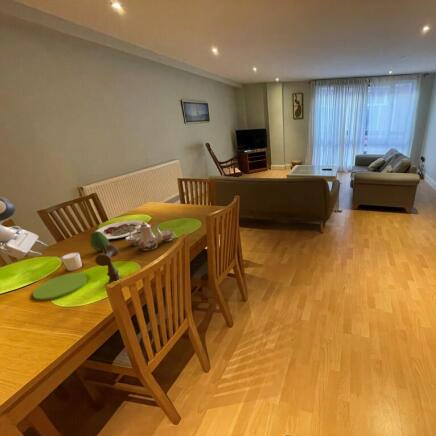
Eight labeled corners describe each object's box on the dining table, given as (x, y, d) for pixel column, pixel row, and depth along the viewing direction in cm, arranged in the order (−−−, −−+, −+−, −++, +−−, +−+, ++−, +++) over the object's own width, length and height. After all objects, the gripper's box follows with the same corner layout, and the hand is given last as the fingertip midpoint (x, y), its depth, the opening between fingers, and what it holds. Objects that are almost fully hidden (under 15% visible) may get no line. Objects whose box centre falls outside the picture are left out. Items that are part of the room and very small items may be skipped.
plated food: (147, 234, 157) (146, 229, 155) (90, 245, 143) (88, 240, 142) (147, 219, 181) (146, 215, 180) (98, 228, 167) (96, 223, 166)
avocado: (97, 248, 140) (90, 229, 135) (112, 246, 142) (107, 228, 137) (91, 255, 133) (84, 235, 128) (108, 252, 135) (101, 233, 130)
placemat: (35, 306, 96) (34, 304, 95) (31, 287, 107) (30, 286, 106) (91, 284, 108) (90, 283, 108) (82, 270, 119) (81, 268, 119)
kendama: (126, 274, 116) (114, 237, 108) (119, 286, 107) (106, 246, 100) (112, 276, 114) (99, 238, 107) (103, 288, 106) (89, 249, 98)
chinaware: (177, 237, 156) (172, 213, 151) (176, 246, 141) (170, 219, 136) (127, 245, 146) (120, 219, 141) (120, 256, 131) (112, 227, 126)
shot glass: (86, 265, 123) (81, 253, 120) (70, 272, 117) (65, 260, 115) (79, 262, 126) (74, 251, 123) (63, 269, 120) (57, 257, 117)
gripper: (0, 241, 97) (42, 255, 106) (17, 224, 113) (53, 237, 122) (-11, 253, 97) (32, 266, 106) (8, 235, 113) (44, 247, 121)
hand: (43, 251), depth 114 cm, fingers open, 8 cm apart
